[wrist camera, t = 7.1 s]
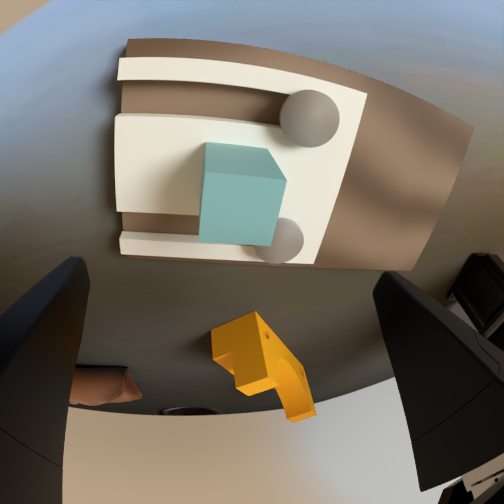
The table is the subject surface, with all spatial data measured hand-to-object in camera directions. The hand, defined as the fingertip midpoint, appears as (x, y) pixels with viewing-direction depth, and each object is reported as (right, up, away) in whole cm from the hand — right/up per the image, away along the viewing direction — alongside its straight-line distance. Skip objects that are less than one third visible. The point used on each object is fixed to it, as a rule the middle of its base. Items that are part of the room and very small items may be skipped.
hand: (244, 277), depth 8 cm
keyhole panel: (-1, +5, +7) cm, 9 cm away
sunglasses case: (-22, -14, +21) cm, 33 cm away
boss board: (+4, +6, +9) cm, 11 cm away
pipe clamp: (+1, -9, +20) cm, 22 cm away
